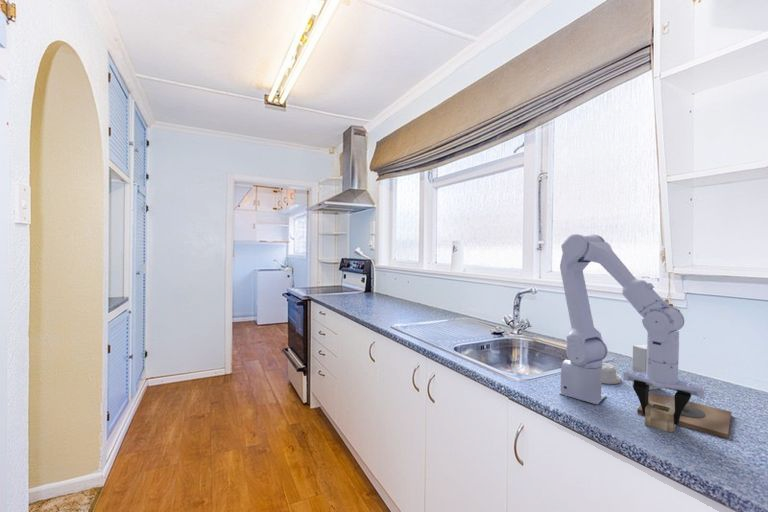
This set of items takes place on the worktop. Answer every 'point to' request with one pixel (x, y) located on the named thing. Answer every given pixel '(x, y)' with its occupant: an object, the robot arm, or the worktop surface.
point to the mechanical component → (609, 374)
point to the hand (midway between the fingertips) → (660, 418)
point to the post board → (697, 416)
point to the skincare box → (641, 361)
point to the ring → (660, 416)
